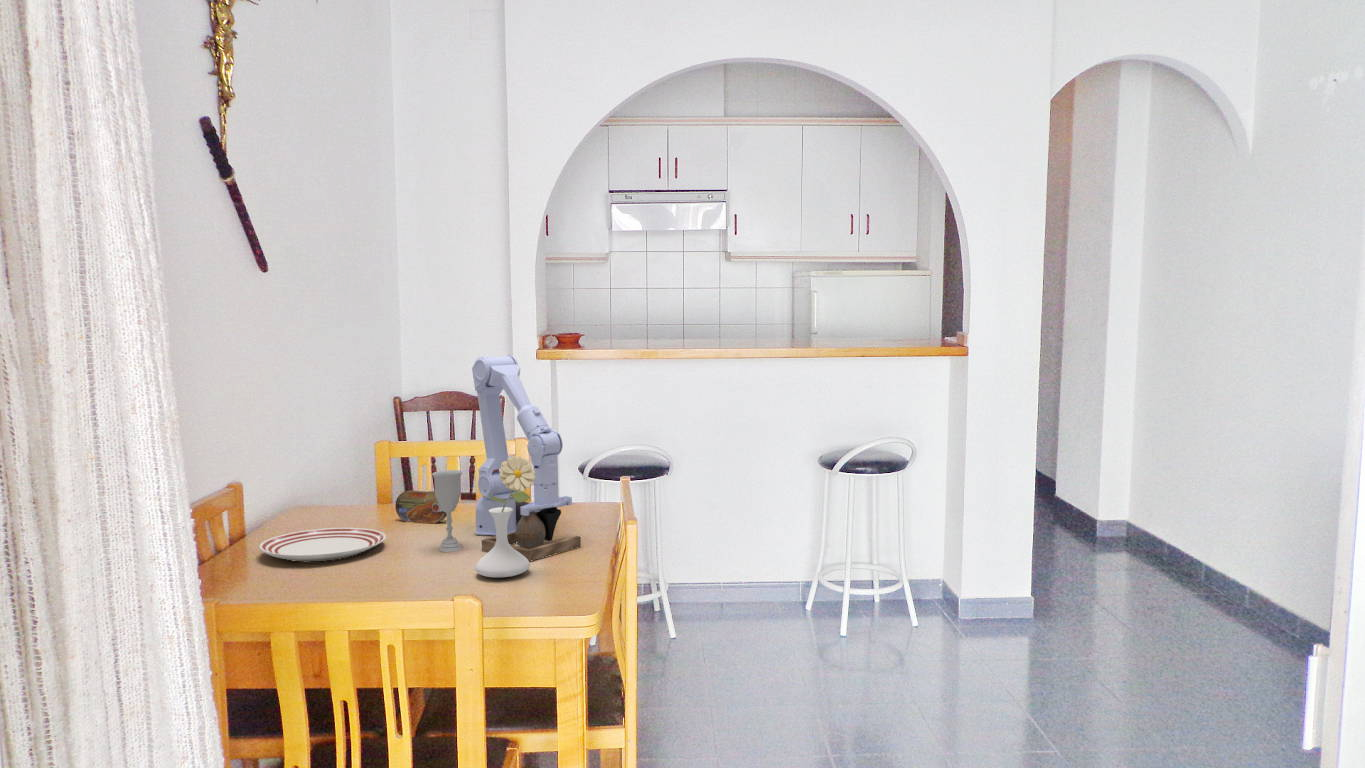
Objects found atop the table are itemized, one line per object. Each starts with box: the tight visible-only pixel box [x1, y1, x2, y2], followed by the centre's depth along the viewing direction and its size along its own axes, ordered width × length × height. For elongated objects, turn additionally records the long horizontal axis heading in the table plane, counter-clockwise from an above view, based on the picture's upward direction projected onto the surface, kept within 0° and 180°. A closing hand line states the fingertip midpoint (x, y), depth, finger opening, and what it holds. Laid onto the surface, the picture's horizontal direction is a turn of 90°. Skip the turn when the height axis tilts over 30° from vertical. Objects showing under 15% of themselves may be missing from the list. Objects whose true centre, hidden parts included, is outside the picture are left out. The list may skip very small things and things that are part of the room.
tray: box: [481, 531, 582, 561], centre depth 212 cm, size 16×16×2 cm
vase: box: [515, 511, 546, 549], centre depth 212 cm, size 7×7×9 cm
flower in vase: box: [474, 455, 535, 579], centre depth 192 cm, size 13×11×25 cm
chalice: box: [431, 469, 463, 553], centre depth 213 cm, size 7×7×18 cm
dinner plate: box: [258, 527, 387, 562], centre depth 213 cm, size 28×27×3 cm
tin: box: [394, 490, 447, 524], centre depth 242 cm, size 15×3×8 cm, turn 73°
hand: (547, 540), depth 216 cm, fingers closed
